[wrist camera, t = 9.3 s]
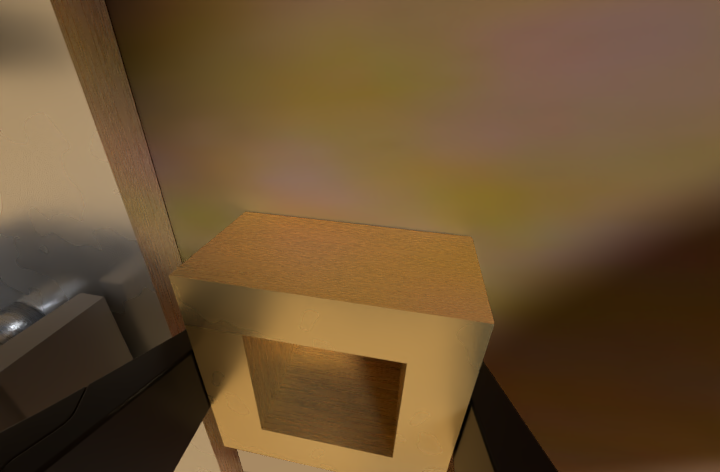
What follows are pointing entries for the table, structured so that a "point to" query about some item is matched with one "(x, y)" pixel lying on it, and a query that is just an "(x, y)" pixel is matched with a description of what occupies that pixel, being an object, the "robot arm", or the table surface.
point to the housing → (58, 357)
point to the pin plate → (83, 190)
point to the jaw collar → (337, 340)
